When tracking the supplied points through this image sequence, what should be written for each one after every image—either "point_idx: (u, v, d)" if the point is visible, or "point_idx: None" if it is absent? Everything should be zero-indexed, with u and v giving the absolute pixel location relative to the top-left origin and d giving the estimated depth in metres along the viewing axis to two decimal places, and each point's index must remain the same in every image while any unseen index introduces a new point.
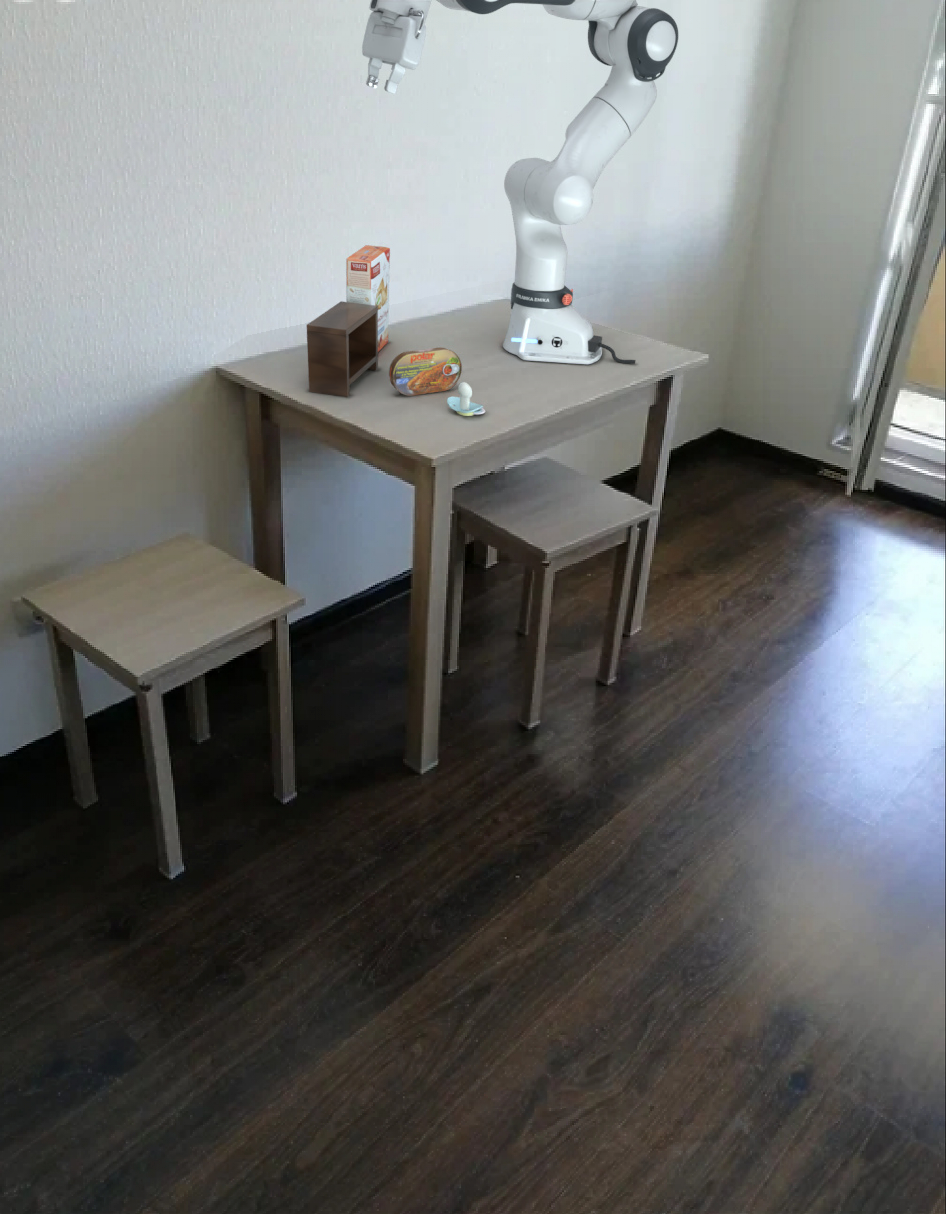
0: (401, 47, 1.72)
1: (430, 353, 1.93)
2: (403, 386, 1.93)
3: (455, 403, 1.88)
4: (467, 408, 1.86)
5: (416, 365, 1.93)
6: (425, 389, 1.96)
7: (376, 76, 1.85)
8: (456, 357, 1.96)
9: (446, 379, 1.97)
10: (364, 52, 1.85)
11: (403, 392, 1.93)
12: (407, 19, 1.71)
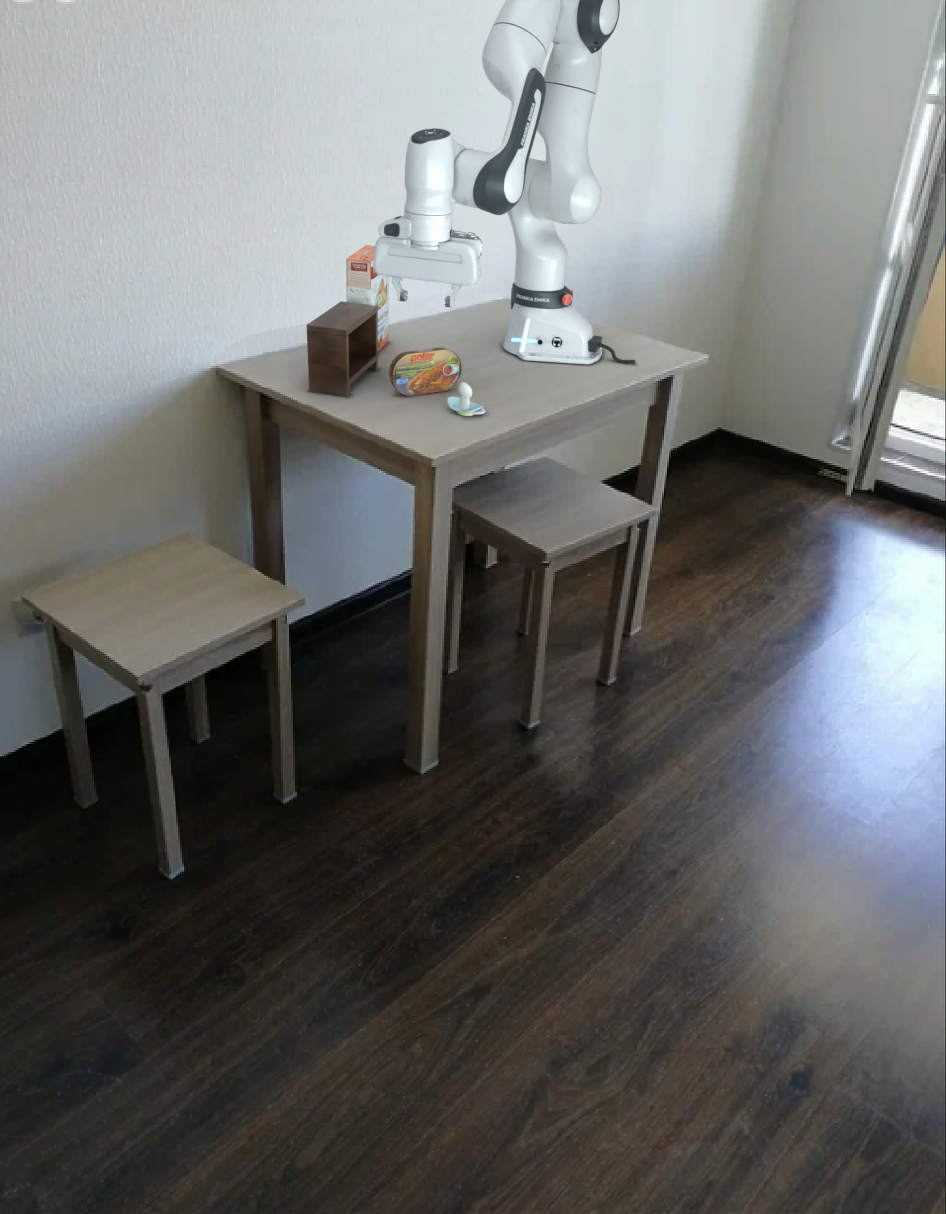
0: (469, 272, 1.81)
1: (430, 353, 1.93)
2: (403, 386, 1.93)
3: (455, 403, 1.88)
4: (467, 408, 1.86)
5: (416, 365, 1.93)
6: (425, 389, 1.96)
7: (402, 289, 1.88)
8: (456, 357, 1.96)
9: (446, 379, 1.97)
10: (382, 273, 1.85)
11: (403, 392, 1.93)
12: (465, 246, 1.79)
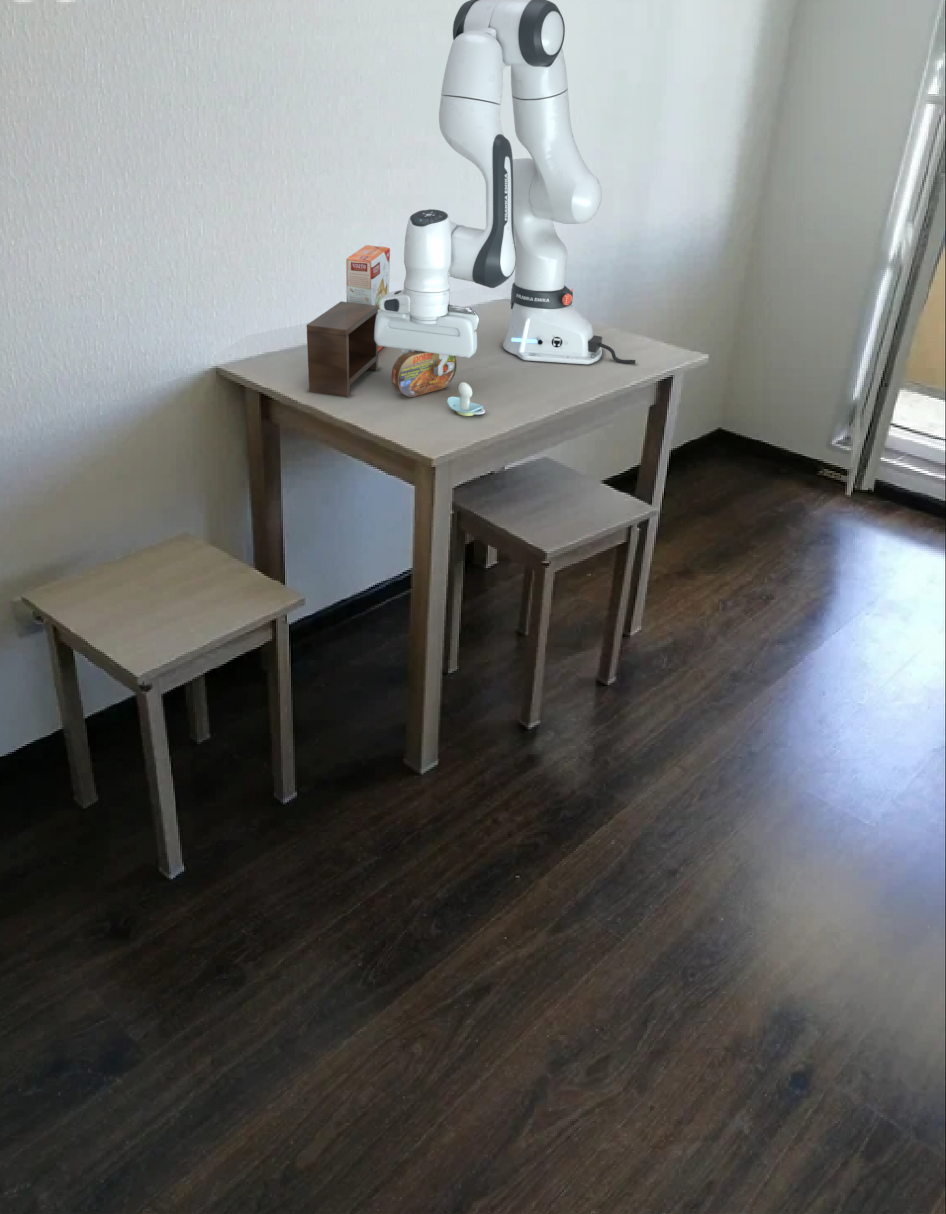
0: (467, 345, 1.88)
1: (430, 353, 1.93)
2: (406, 388, 1.92)
3: (455, 403, 1.88)
4: (467, 408, 1.86)
5: (418, 365, 1.92)
6: (425, 389, 1.96)
7: None
8: None
9: (442, 377, 1.98)
10: (382, 344, 1.92)
11: (406, 394, 1.93)
12: (463, 321, 1.86)
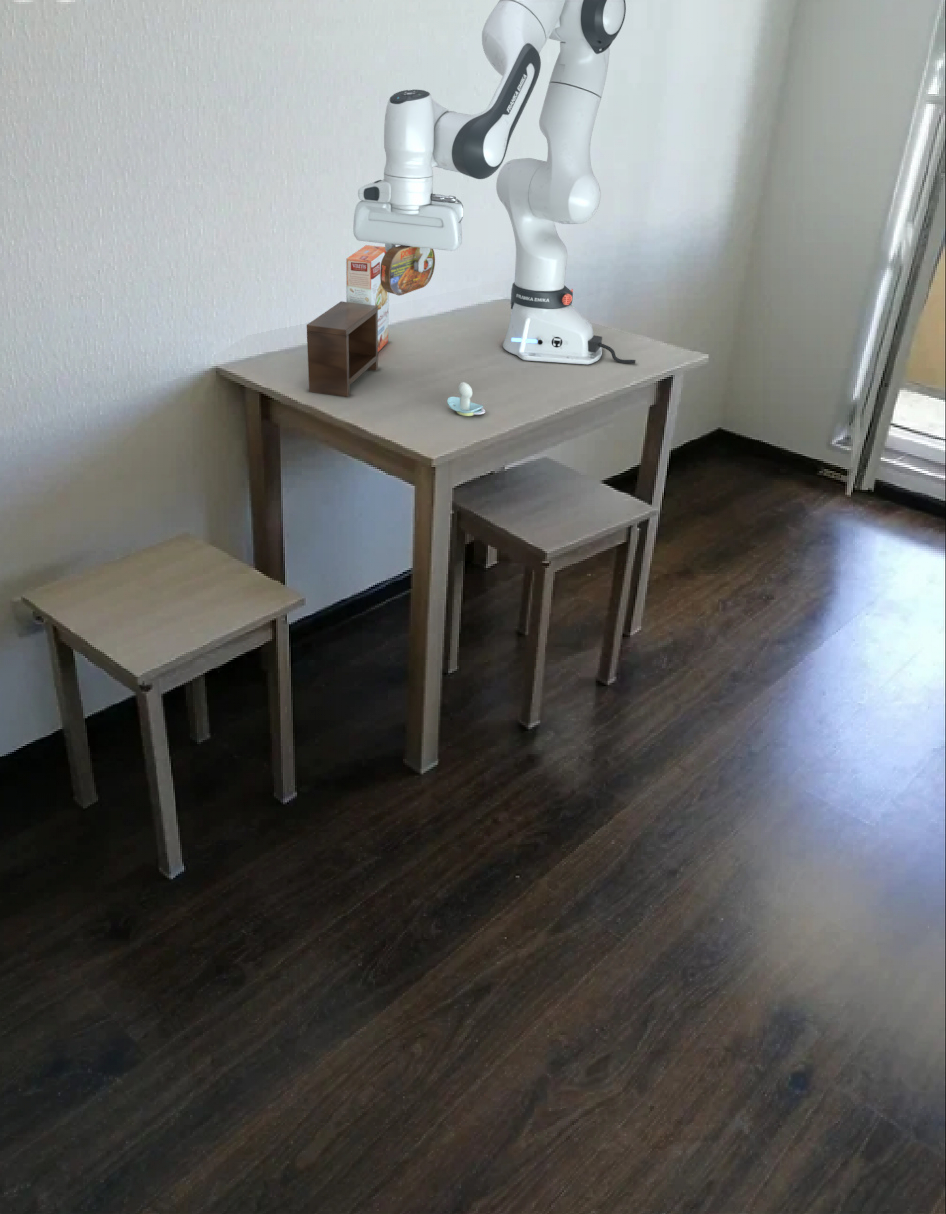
0: (451, 237, 1.79)
1: (414, 248, 1.84)
2: (395, 286, 1.82)
3: (455, 403, 1.88)
4: (467, 408, 1.86)
5: (404, 261, 1.82)
6: (409, 287, 1.86)
7: None
8: (431, 250, 1.88)
9: (423, 274, 1.89)
10: (362, 238, 1.83)
11: (395, 292, 1.83)
12: (446, 210, 1.76)
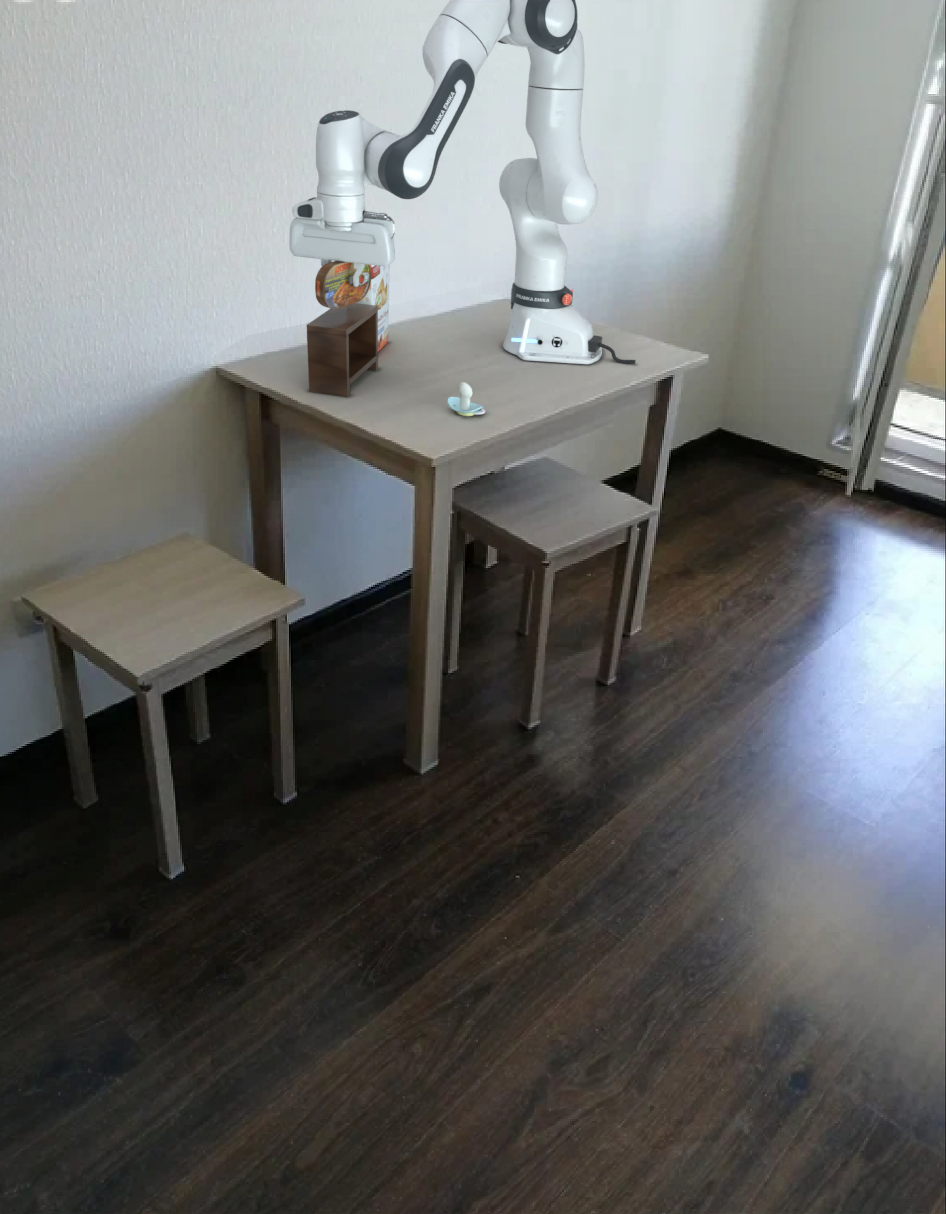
0: (383, 253, 1.83)
1: (349, 263, 1.88)
2: (330, 300, 1.87)
3: (455, 403, 1.88)
4: (467, 408, 1.86)
5: (339, 276, 1.87)
6: (345, 301, 1.91)
7: None
8: (366, 265, 1.93)
9: (359, 288, 1.94)
10: (298, 254, 1.88)
11: (331, 306, 1.87)
12: (378, 227, 1.81)
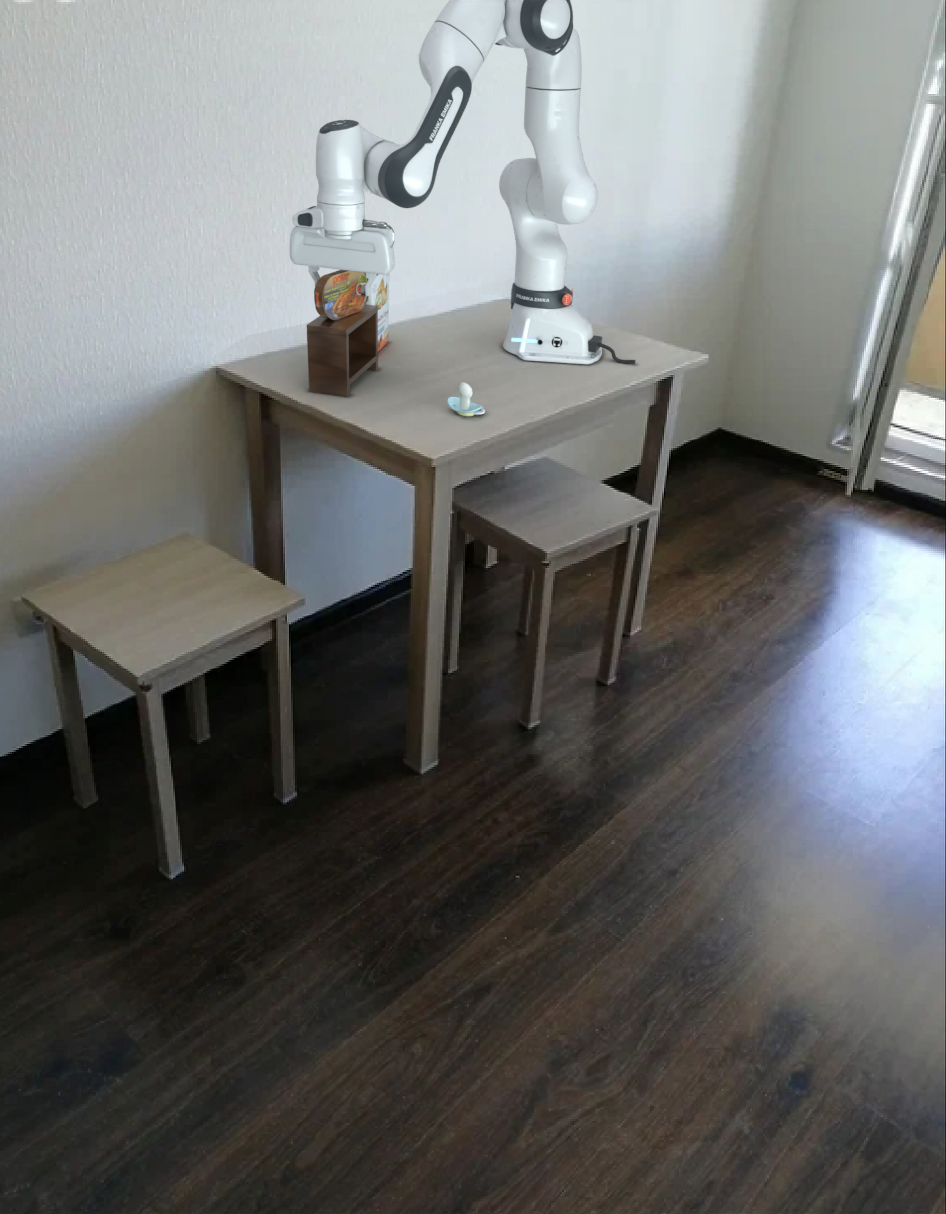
0: (382, 261, 1.84)
1: (346, 273, 1.90)
2: (330, 311, 1.88)
3: (455, 403, 1.88)
4: (467, 408, 1.86)
5: (337, 287, 1.88)
6: (345, 311, 1.92)
7: (319, 278, 1.91)
8: (364, 275, 1.95)
9: (358, 299, 1.95)
10: (298, 262, 1.88)
11: (331, 317, 1.89)
12: (377, 235, 1.82)
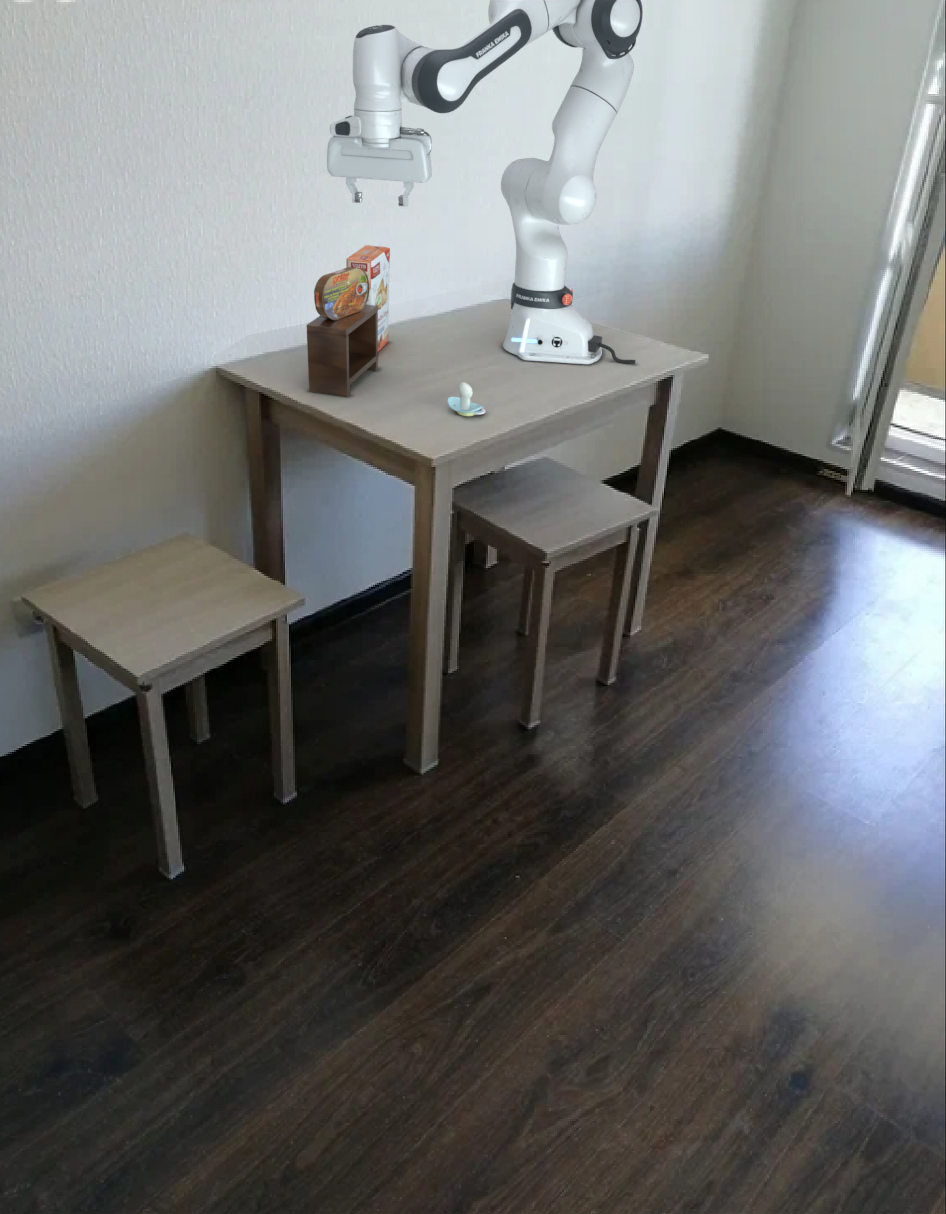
0: (420, 169, 1.85)
1: (346, 273, 1.90)
2: (330, 311, 1.88)
3: (455, 403, 1.88)
4: (467, 408, 1.86)
5: (337, 287, 1.88)
6: (345, 311, 1.92)
7: (357, 190, 1.92)
8: (364, 275, 1.95)
9: (358, 299, 1.95)
10: (336, 174, 1.89)
11: (331, 317, 1.89)
12: (415, 142, 1.83)
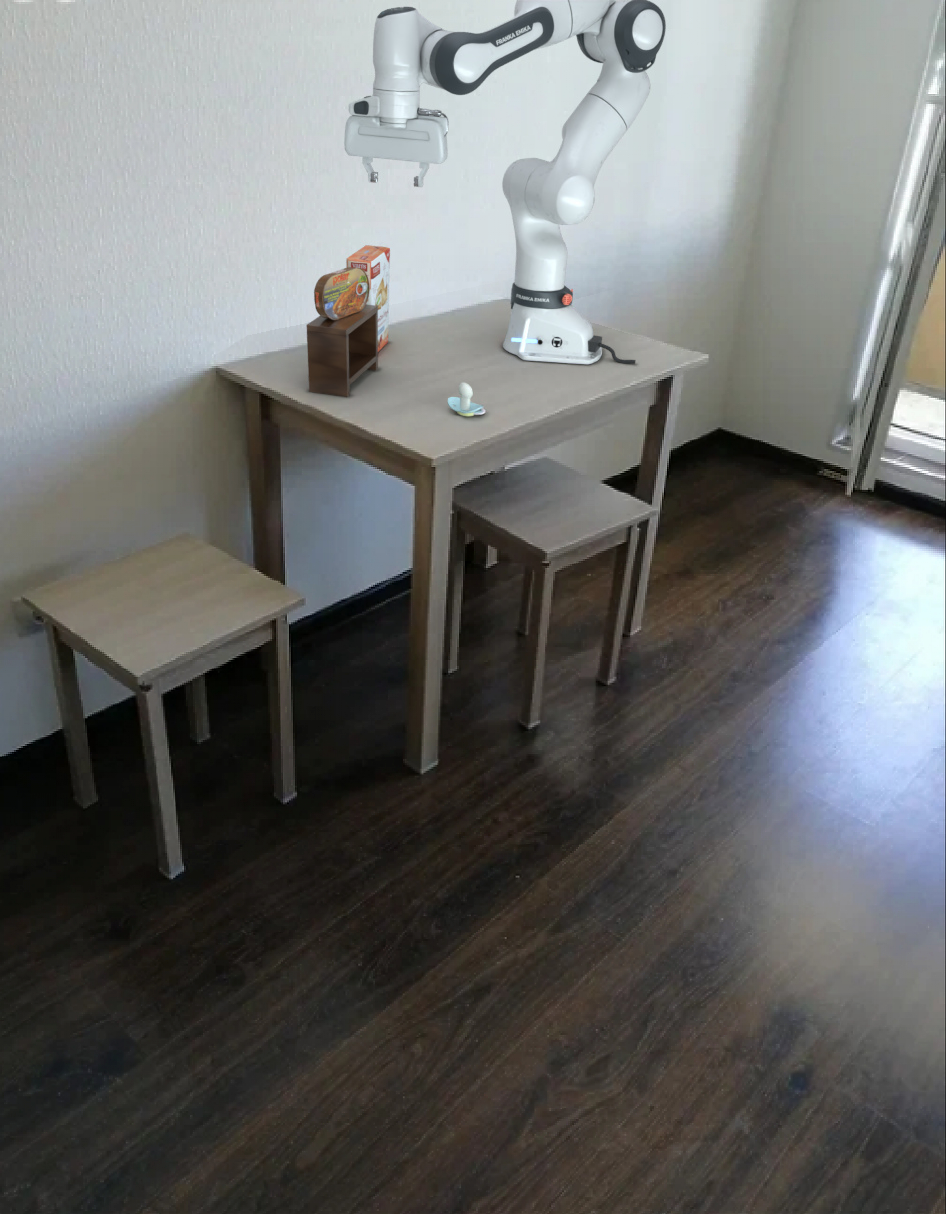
0: (436, 150, 1.88)
1: (346, 273, 1.90)
2: (330, 311, 1.88)
3: (455, 403, 1.88)
4: (467, 408, 1.86)
5: (337, 287, 1.88)
6: (345, 311, 1.92)
7: (373, 170, 1.95)
8: (364, 275, 1.95)
9: (358, 299, 1.95)
10: (352, 153, 1.92)
11: (331, 317, 1.89)
12: (432, 123, 1.86)
